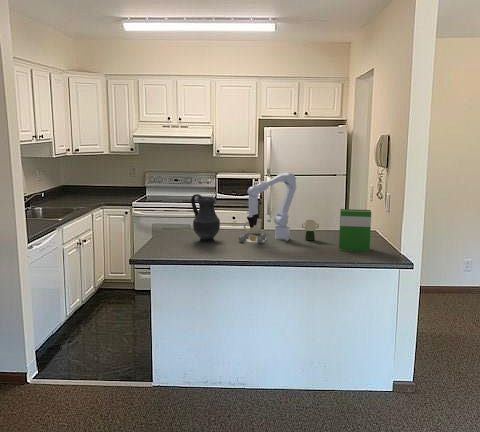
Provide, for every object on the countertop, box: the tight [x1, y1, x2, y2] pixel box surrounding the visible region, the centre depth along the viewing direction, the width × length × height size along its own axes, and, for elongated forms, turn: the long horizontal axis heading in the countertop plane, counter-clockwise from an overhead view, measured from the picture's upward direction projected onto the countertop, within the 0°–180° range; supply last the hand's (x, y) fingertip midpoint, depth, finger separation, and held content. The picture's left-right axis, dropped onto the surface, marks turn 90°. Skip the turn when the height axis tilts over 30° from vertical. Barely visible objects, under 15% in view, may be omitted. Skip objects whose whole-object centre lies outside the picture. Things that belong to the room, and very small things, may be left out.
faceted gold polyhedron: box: [249, 235, 258, 241], centre depth 322 cm, size 4×5×2 cm
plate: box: [243, 237, 267, 244], centre depth 321 cm, size 15×16×1 cm
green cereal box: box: [338, 208, 372, 252], centre depth 300 cm, size 18×7×24 cm, turn 80°
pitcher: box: [190, 193, 221, 243], centre depth 322 cm, size 17×21×30 cm
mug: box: [243, 218, 262, 235], centre depth 345 cm, size 8×13×10 cm, turn 81°
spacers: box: [238, 232, 266, 245], centre depth 321 cm, size 15×14×4 cm
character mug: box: [301, 219, 320, 241], centre depth 326 cm, size 11×7×13 cm, turn 83°
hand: (253, 226), depth 321 cm, fingers open, 7 cm apart
